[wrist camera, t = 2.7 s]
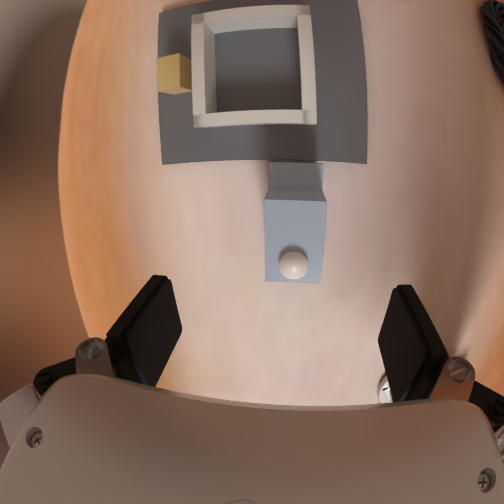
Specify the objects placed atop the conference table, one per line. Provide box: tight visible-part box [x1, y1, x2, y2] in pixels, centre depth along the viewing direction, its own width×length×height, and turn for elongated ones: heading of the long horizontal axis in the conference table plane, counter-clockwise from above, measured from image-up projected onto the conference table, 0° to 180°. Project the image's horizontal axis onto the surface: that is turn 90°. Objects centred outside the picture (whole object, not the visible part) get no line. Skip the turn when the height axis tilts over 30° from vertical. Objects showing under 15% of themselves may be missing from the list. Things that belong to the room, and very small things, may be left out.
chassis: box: [157, 0, 367, 165], centre depth 17 cm, size 18×16×4 cm
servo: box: [264, 162, 327, 284], centre depth 21 cm, size 4×10×7 cm, turn 2°
